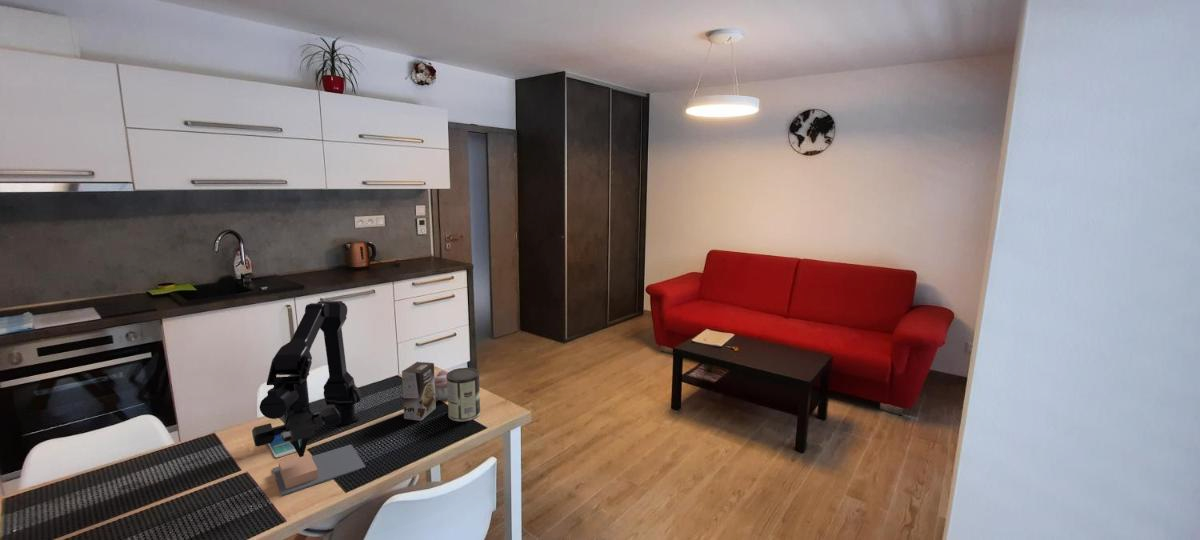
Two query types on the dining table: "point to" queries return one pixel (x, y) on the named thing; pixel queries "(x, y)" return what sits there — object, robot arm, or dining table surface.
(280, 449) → the smartphone
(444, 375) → the cupcake
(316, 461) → the mat
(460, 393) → the coffee can
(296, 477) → the block
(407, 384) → the coffee box
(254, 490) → the dining table surface
